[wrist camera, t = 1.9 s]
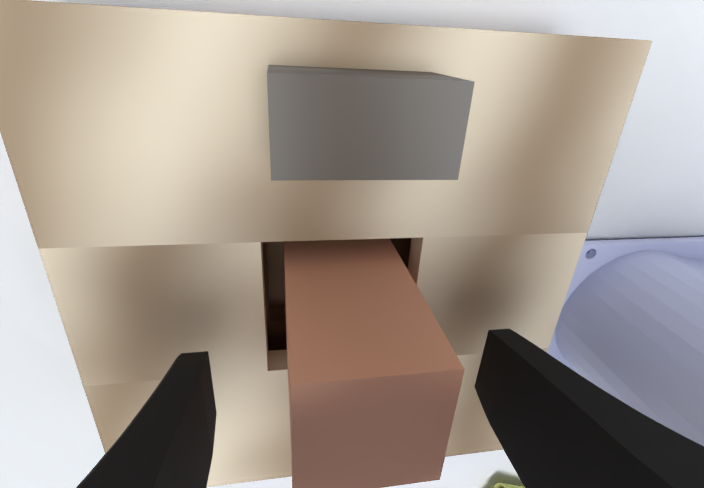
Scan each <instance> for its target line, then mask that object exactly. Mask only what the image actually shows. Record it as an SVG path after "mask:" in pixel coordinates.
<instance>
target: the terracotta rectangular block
mask: <svg viewBox="0 0 704 488" xmlns="http://www.w3.org/2000/svg"><path fill="white" fill-rule="evenodd" d="M283 257H284V293H285V317H286V342H287V366H288V391H289V415H290V439H291V464H292V488H382V487H389V486H396V485H404V484H411V483H418V482H426V481H433V480H440V476H441V472H442V467H443V463H444V458H445V454H446V450H447V445H448V441H449V436H450V432H451V428H452V423H453V419H454V414H455V410H456V406H457V401H458V397H459V392H460V388H461V384H462V379H463V375H464V370H465V369H464V367H463V365H462V364H461V362H460V360H459V358H458V357H457V355H456V353H455V351H454V350H453V348H452V346H451V345H450V343H449V341H448V339H447V338H446V336H445V334H444V332H443V331H442V329H441V327H440V325H439V324H438V322H437V320H436V318H435V317H434V315H433V313H432V311H431V310H430V308H429V306H428V304H427V303H426V301H425V299H424V297H423V296H422V294H421V292H420V290H419V289H418V287H417V285H416V284H415V282H414V280H413V278H412V277H411V275H410V273H409V271H408V270H407V268H406V266H405V264H404V263H403V261H402V259H401V257H400V256H399V254H398V252H397V250H396V249H395V247H394V245H393V243H392V242H391V240H390V238H386V239H352V240H317V241H283Z"/></svg>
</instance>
